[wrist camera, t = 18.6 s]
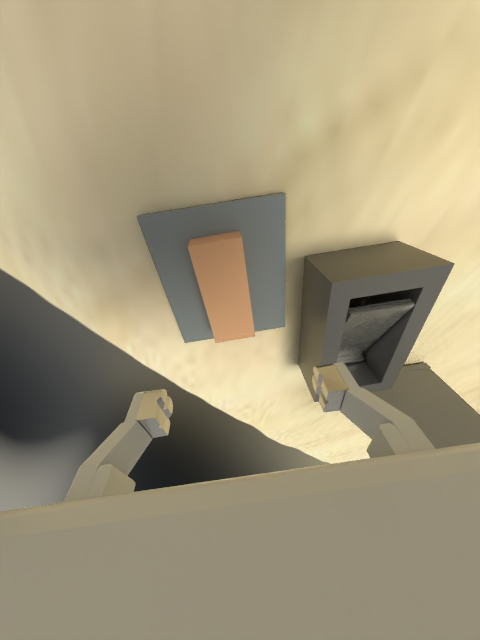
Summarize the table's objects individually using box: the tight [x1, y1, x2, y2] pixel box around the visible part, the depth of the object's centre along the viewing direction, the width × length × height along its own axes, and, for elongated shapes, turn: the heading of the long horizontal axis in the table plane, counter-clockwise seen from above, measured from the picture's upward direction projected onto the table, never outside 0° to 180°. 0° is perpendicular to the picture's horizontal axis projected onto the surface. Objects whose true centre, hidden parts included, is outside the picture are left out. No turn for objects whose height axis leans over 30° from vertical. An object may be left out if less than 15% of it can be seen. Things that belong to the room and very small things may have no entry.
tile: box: [188, 231, 255, 343], centre depth 24 cm, size 12×5×2 cm, turn 8°
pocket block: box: [298, 241, 455, 402], centre depth 27 cm, size 19×11×7 cm, turn 7°
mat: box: [137, 193, 285, 343], centre depth 25 cm, size 14×16×1 cm
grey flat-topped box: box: [372, 363, 480, 449], centre depth 30 cm, size 14×6×25 cm, turn 95°
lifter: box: [337, 298, 415, 364], centre depth 26 cm, size 13×6×2 cm, turn 7°
